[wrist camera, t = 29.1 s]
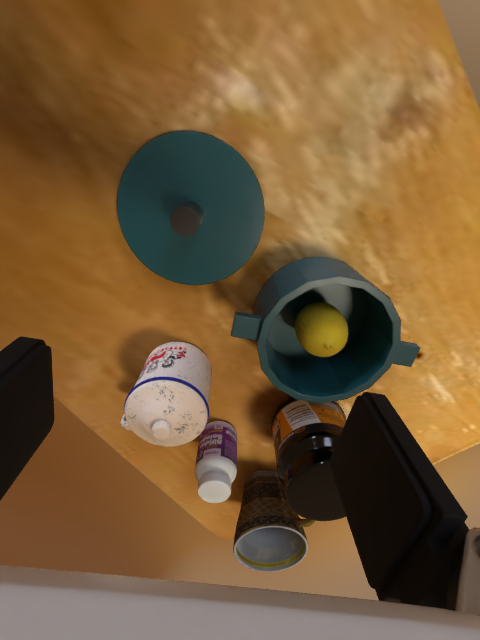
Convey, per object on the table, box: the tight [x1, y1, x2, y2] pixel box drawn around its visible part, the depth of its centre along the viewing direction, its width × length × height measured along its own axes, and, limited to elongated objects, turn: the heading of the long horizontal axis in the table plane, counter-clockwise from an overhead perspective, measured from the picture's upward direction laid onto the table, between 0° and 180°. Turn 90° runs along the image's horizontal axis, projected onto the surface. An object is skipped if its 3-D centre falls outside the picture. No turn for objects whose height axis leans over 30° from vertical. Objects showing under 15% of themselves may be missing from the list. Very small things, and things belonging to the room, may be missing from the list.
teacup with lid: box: [121, 342, 212, 447], centre depth 38 cm, size 12×9×12 cm
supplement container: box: [271, 397, 347, 521], centre depth 41 cm, size 10×10×12 cm
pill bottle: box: [195, 421, 237, 503], centre depth 43 cm, size 5×5×10 cm
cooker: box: [231, 257, 420, 403], centre depth 36 cm, size 14×20×8 cm
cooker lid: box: [117, 131, 264, 285], centre depth 32 cm, size 15×15×6 cm
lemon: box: [295, 302, 348, 357], centre depth 35 cm, size 6×6×8 cm
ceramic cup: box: [233, 470, 315, 572], centre depth 47 cm, size 13×10×10 cm
